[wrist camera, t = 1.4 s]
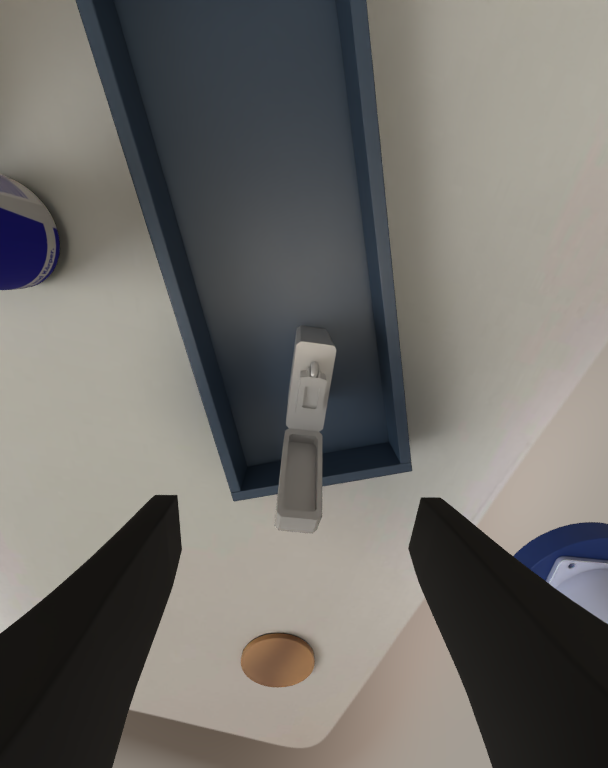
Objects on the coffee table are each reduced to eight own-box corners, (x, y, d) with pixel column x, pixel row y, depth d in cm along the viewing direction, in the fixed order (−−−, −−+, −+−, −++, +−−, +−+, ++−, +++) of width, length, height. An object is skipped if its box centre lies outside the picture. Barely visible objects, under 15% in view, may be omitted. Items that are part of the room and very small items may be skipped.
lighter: (297, 325, 18) (296, 364, 10) (328, 329, 18) (350, 370, 10) (282, 439, 20) (273, 541, 13) (310, 443, 20) (317, 545, 13)
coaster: (319, 636, 26) (319, 641, 26) (308, 684, 28) (309, 689, 28) (244, 630, 26) (243, 635, 25) (239, 679, 28) (238, 685, 27)
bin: (397, 446, 21) (412, 471, 18) (241, 473, 21) (233, 502, 19) (335, -118, 13) (345, -221, 10) (85, -53, 13) (32, -136, 10)
